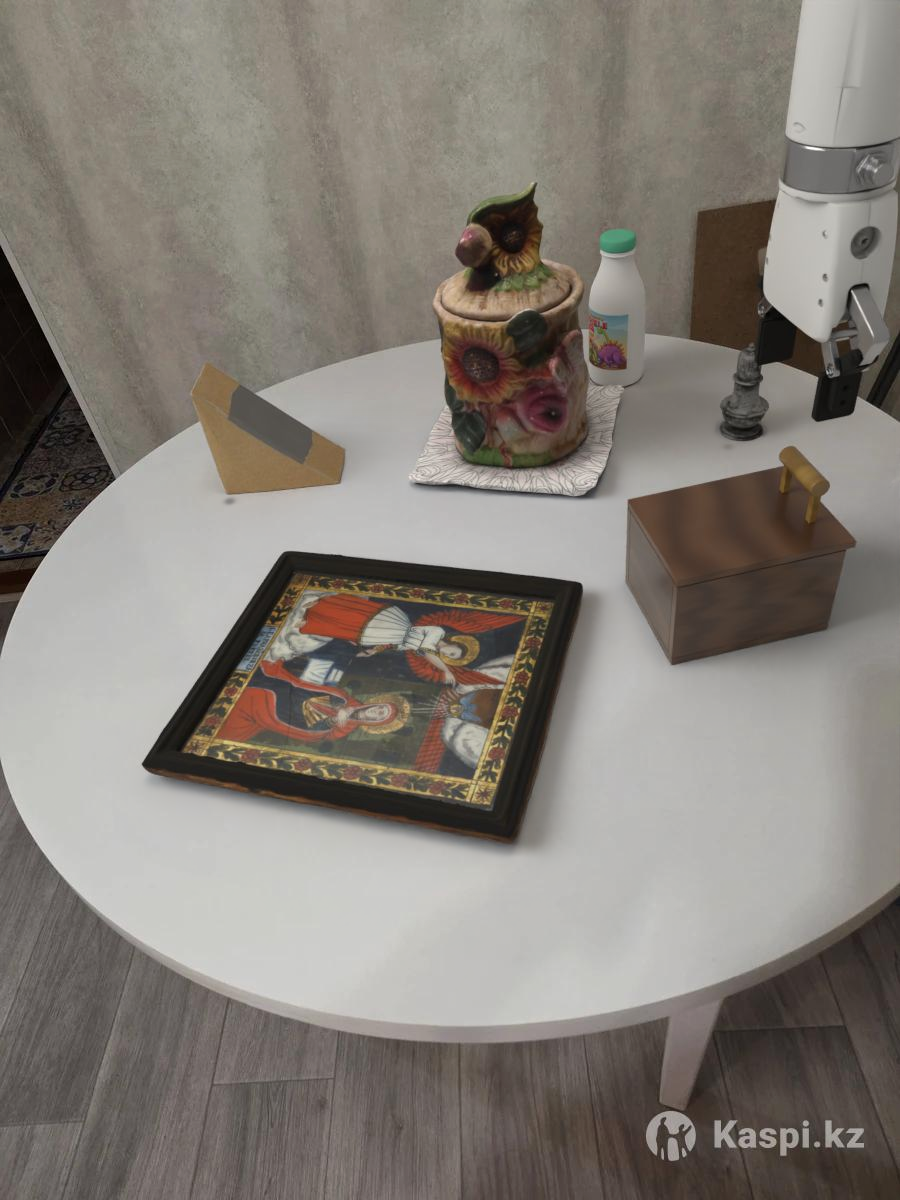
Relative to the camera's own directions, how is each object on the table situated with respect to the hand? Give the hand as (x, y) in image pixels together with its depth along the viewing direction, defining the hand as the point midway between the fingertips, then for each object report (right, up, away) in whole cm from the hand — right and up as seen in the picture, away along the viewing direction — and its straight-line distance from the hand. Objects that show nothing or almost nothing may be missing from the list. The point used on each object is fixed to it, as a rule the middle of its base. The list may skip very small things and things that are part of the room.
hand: (800, 387), depth 70 cm
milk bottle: (-4, +15, +55) cm, 57 cm away
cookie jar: (-19, +4, +45) cm, 49 cm away
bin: (-1, -18, +18) cm, 25 cm away
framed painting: (-35, -26, +15) cm, 46 cm away
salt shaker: (+9, +4, +41) cm, 42 cm away
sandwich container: (-50, 0, +46) cm, 68 cm away
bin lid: (-2, -10, +11) cm, 15 cm away
